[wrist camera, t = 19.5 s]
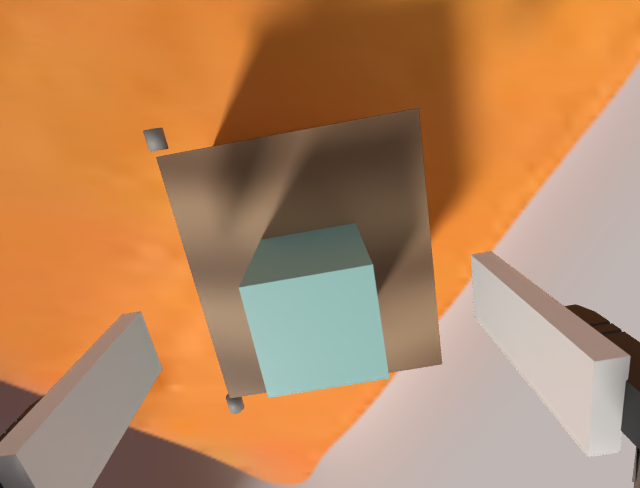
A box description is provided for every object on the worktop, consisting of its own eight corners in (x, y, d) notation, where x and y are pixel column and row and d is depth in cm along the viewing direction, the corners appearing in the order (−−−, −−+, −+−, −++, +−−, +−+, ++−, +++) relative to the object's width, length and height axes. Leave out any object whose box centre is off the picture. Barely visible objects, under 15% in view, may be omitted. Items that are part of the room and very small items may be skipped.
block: (260, 239, 20) (238, 287, 14) (355, 222, 19) (373, 264, 14) (280, 323, 21) (268, 397, 15) (368, 308, 21) (389, 378, 15)
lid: (162, 155, 19) (156, 157, 18) (414, 108, 18) (418, 108, 18) (232, 389, 23) (229, 398, 23) (437, 356, 23) (441, 364, 22)
